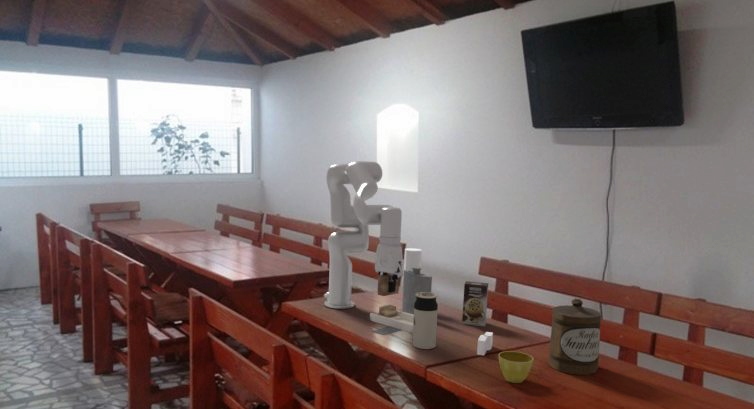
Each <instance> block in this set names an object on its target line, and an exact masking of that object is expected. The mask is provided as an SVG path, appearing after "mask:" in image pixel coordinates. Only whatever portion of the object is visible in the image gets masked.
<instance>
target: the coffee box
mask: <svg viewBox="0 0 754 409" xmlns="http://www.w3.org/2000/svg"><path fill="white" fill-rule="evenodd" d="M463 287H464V288H463V301H462V302H463V304H462V315H461V316H462V318H461V324H463V325H468V326H478V327H486V323H487V310H488V309H487V306H488V305H487V304H488V293H489V291H488V290H489V283H488V282H479V281H470V280H469V281H467V280H466V281H465V282H464V285H463Z"/></svg>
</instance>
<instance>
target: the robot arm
mask: <svg viewBox="0 0 754 409" xmlns="http://www.w3.org/2000/svg"><path fill="white" fill-rule="evenodd" d="M382 177H383V169H382V167H381V165H380V164H379V163H378V162H377V161H362V160H359V161H352V162H350V163H335V164H332V165H331V166H329V167H328V169H327V172H326V184H327V187H328V191H329V195H330V196H329V197H330V200H329V201H330V220H331V225H332V226H333V227H334V228H336V229H354V230H348V231H347V230H346V231H345V230H344V231H341V230H339V231H335V232H332V233H331V234H330V235H329V236H328V240H327V244H328V254H329V273H328V274H329V276H328V291H327V292H326V293H324V294H323V297H324V298H326V300H325V301H324V306H325V307H327V308H329V309H339V310H340V309H341V310H343V309H344V310H345V309H350V308H354V307H355V302H354V301H353V300H352V283H353V282H352V280H353V279H352V277H353V276H352V275H353V264H352V261H351V259H350V258H349V256H348V255H350V254H353V255H354V254H363V253H366V251H368V249H369V245H370V236H369V235H370V233H369V232H370V231H369V227H370V226H380V227H379V228H380V230H379V237H378V240H379V243H378V245H377V247H376V252H375V260H374V270H375V272H376V273H377V274H378V276H379V275H385V274H390V282H389V290H388V292H389V293H391V292H395V290H396V281H397V280H398V278H399V279H400V278H402V277H404V271H403V266H404V263H403V261H404V260H403V250H402V246H401V240H402V239H401V238H402V236H401V235H402V216H403V214H402V209H401V208H399V207H396V206H395V207H394V206H393V205H390V204H367V203H366V202H365V201H368V200H370V199H371V198H373V197H374V196H375V195H376V194H377V193H378V189H379V188H378V184H377V183H379V182H380V181H381V180H382ZM345 185H352V188H353V189H354V192H355V195H354V198H353V204H351V193H350V192H349V190H348V188H347V187H346V186H345ZM393 275H394V277H393Z"/></svg>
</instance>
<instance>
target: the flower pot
mask: <svg viewBox="0 0 754 409" xmlns="http://www.w3.org/2000/svg"><path fill="white" fill-rule="evenodd" d="M498 360H499V361H498V362H499V367H500V370H501V372H502V375H503V377H504V379H505V381H507V382H509V383H513V384H521V383H523V382H524V380H526V378H527V377H528V375H529V373H530V372H531V369H532V367H533V366H532V365H533V364H534V357H533V356H532V355H530V354H528V353H525V352H521V351H512V350H506V351H501V352H499V353H498Z"/></svg>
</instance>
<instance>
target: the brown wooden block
mask: <svg viewBox="0 0 754 409" xmlns="http://www.w3.org/2000/svg"><path fill="white" fill-rule="evenodd" d="M393 277H394V275H393ZM389 282H390V274H389V273H388V274H385V275H379V274H378V276H377V295H378V296H382V297H386V296H387V297H388V296H392V295H396V294H399V289H400V287H399V286H400V277H399V278H398V280H397V281H396V290H395V292H391V293H389V292H388V290H389Z"/></svg>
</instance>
